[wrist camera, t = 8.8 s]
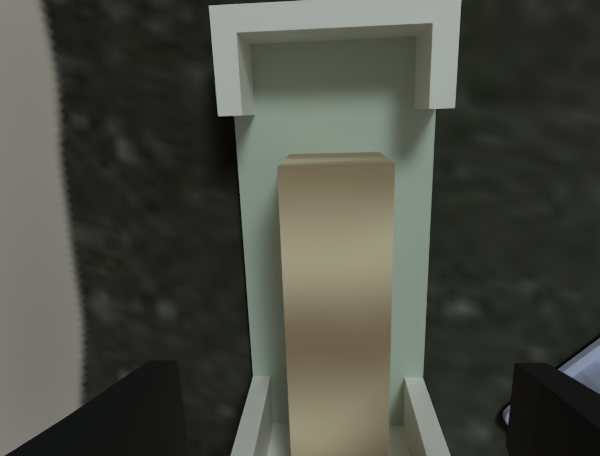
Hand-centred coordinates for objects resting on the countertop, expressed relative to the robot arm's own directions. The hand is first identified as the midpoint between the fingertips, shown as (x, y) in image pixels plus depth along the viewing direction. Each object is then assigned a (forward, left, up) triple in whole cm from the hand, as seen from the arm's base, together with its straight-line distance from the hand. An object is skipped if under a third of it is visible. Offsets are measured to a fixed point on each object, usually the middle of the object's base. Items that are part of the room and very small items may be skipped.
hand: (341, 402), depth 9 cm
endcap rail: (0, 0, -9) cm, 9 cm away
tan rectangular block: (-1, +1, -9) cm, 9 cm away
